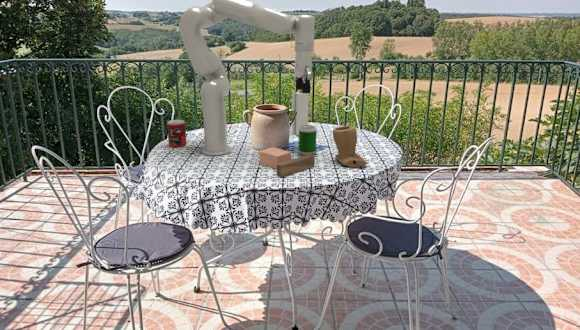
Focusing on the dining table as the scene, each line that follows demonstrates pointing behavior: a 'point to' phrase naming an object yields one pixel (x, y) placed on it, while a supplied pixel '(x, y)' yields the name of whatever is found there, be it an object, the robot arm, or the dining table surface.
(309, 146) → the soda can
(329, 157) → the dining table surface
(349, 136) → the tan boot-shaped piece
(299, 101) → the paper towel roll
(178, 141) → the canned food
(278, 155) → the brick
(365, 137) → the dining table surface
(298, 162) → the board
